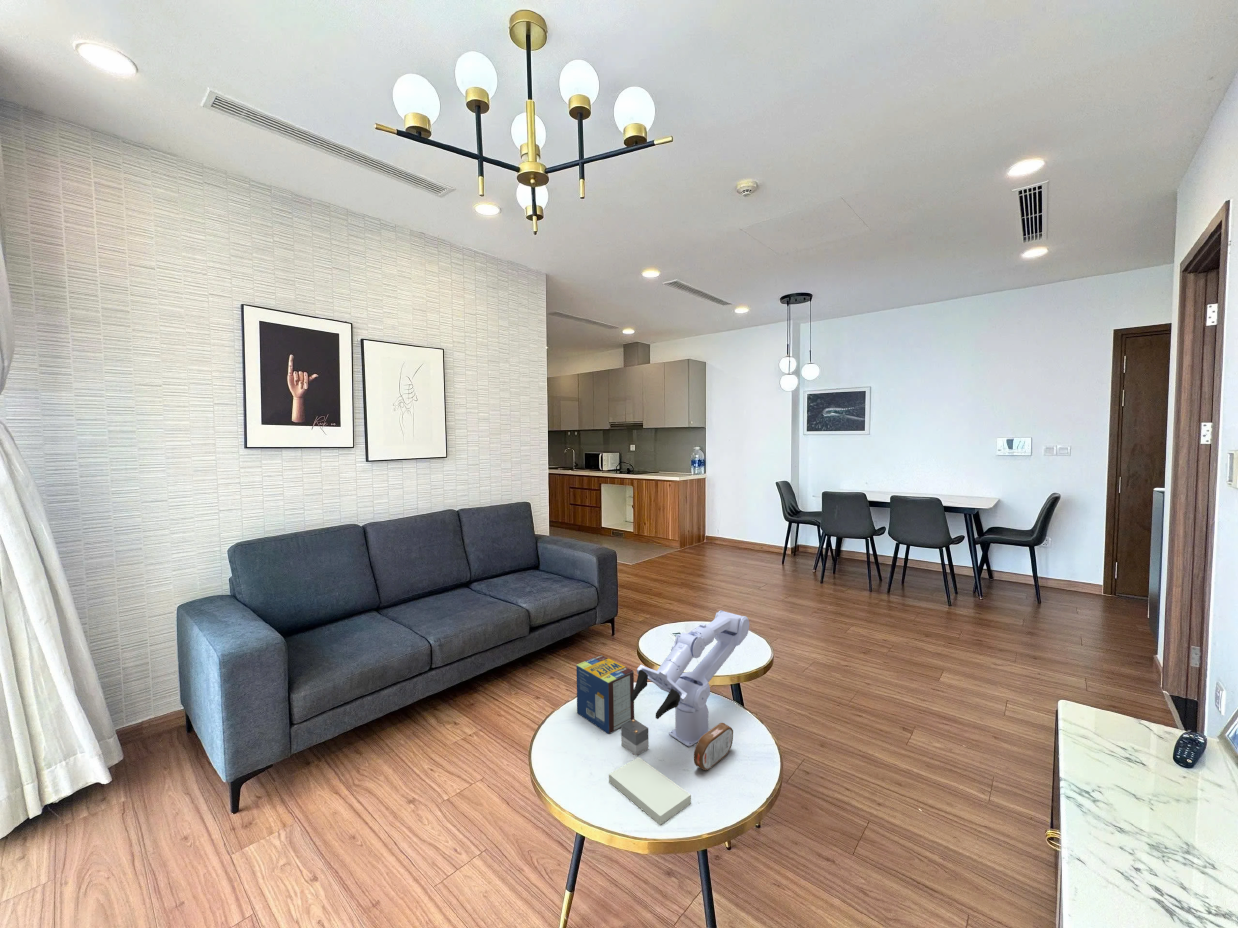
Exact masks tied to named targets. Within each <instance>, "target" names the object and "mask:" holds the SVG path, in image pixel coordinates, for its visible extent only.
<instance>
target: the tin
mask: <svg viewBox="0 0 1238 928" xmlns="http://www.w3.org/2000/svg"><path fill="white" fill-rule="evenodd" d="M733 740H734V729H733V728H732V727H731V726H729V725H728V724H726V723H725V722H720V723H718V724H717V725H715V726H714V727H713V728H711V729H709V731H708V732H707V733H705V734H704V735H703V736H702V737H701V738H700V740H699V741H698V742H697V743H696V746H695V748H694V752H693V763H694V765H695V766H696V767H698V768H699V769H701V770H703V771H708V770H710V769H711V768H713V767H714V766H715V765H717V764H718V763H719V762H721V760H723V759H724V758H725V757H726V756H727V755H729V752H730V750H731V748H732V745H733Z"/></svg>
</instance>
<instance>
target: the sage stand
mask: <svg viewBox="0 0 1238 928" xmlns="http://www.w3.org/2000/svg"><path fill="white" fill-rule="evenodd" d="M608 782H609V783H610V784H611V785H612V786H614V787H615V788H616V789H617V790H618V791H620V793H622V794H623V795H624V796H625V797H626V798H628V799H629V800H630V801H631V802H632V803H634V804H635V805H636V806H637V807H638V808H640V809H641V810H642V811H643V812H644V813H646V814H647V816H648V817H650V818H651V819H653V820H654V821H655V823H657V824H658V825H663V824H664V823H665V822H667V821H668V820H670V818H673V817H674V816H675V815H676V814H678V813H679V812H681V811H682V810H683V809H685V808H686V807H687V806H689V805H691V804H692V795H691V794H690V793H689V792H688V791H687V790H685V789H684V788H682V787H681V786H679V784H677V783H675V782H674V781H673V780H671V779H669V777H667V776H666V775H664V774H663V773H661V772H660V771H659V770H658V769H656V768H655V767H653V766H652V765H651V764H649V763H648V762H647V761H645V760H644V759H642V758H641V757H639V756H638V757H636V758H634V759H632V760H631V761H629V762H628V763H626V764H624V765H622V766H620V767H619V768H617V769H615V770H613V771H612V772H610V773H609V774H608Z"/></svg>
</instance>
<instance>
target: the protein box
mask: <svg viewBox="0 0 1238 928" xmlns="http://www.w3.org/2000/svg"><path fill="white" fill-rule="evenodd" d="M634 682H635V673H634V670H633V669H632V668H631V669H630V668H629V667H627V666H625V665H623V664H621V663H620V662H617V661H614V659H613V660H612V659H610V658H608V657H606V656H605V655H602V654H600V655H597V656H594V657H593V658H590V659H587V660H585V661H582V662H580V663H577V664H576V712H577V713H576V714H578V715H579V716H580V717H583V718H584V719H586V720H587V721H588V722H590V723H591V724H593V725H594V726H596V727H597V728H599V729H600V730H602V731H603V732H605V733H606V734H608V735H611V733H613V732H616V731H618V730H619V729H620V728H621V725H622V724H624V723H626V722H628V721H630V720H632V719H635V700H634V701H633V702H632V701H630V696H631V695H632V693H633V691H634V688H635V683H634Z"/></svg>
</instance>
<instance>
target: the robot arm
mask: <svg viewBox="0 0 1238 928" xmlns="http://www.w3.org/2000/svg"><path fill="white" fill-rule="evenodd" d="M749 629H750V620H749V618H748V617H747V616H746V615H740V614H736V613H732V612H729V611H724V610H723V609H722V610H719V611H717V612H715V616H714V619H713V620H712V621H710V622H709V623H708V624H705V623H700V624H698V626H697V627H696V628H694V629H692V630H690V631H689V632H681V633H678V634H676V636H675V639H674V644H673V645H672V646H671V649H670V652H669V654H668V655H666V656H667V657H666V658H665V659H664V660H663V662H662V663H661V664H660V665H659V667H658V669H657V670H656V669H652V668H649V667H647V666H646V665H645V666H644V665H643V664H640V665H639V666H638V667H637V669H636V674H637V679H636V682H635V684H634V691H633V693H632V695H631V696H630V701H632V702H633V701H634V702H635V700H636V699H637V697H638V696H639V695H640V694H641V692H642V691H643V690H644V689H645V688H646V687H648V681H650V682H651V683H653V684H654V685H655V686H657V687H658V688H659V689H660V690H662V691H664V692H666V693H667V696H666V697H665V699H664V701H663V703H662V704H661V705H660V706H659V708H658V709H657V711H656V712H655V719H656V720H659V719H660V718H661V717H662V716H663V715H665V714H666V713H667V712H669V711H671V710H674V709H675V711H674V712H675V714H674V715H675V718H674V719H675V722H674V723H675V728H674V729H673V730H671V731H669V732H668V735H669V736H671V737H672V738H674V739H676V740H677V741H679V742H680V743H682V744H683V745H685V746H687V747H689V748H690V747H692V746H693V745H695V744H697V743H698V741H699V740H700V738H701V737H702V736H703V735H704V734H705V733H707V732H708V731H710V728H709V721H710V720H709V718H710V716H709V708H708V705H707V701H708V699H709V697H710V695H711V686H710V681H711V680H712V679H713V678H714V676H715V675H716V674H717V673H718V671H719V670H720V669H721V667H722V666H723V664H725V663H726V662H727V660H728V659H729V657H730V656H731V655H732V654H733V652H734V651H735V649H736V647H738V646H740V645H741V644H742V643H743V641H744V640H745V639H746V638H747V636H748V634H749ZM714 639H715V640H716V643H715V644H714V645H713V647H712V648H711V649H710V650H709V651H708V653H707V654H706V655H705V656H704V657H703V659H701V661H700V662H699V663H698V664H697V665H696V666H695V668H693V670H692V671H685V670H686V669H687V667H688V666H689V664H690V663H691V662H692V660H693V659H699V658H700V657H701V655H702V653H703V651H704V650H705V649H706V647H707V646H709V645H710V644H711V643H712V642H713V641H714Z"/></svg>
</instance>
